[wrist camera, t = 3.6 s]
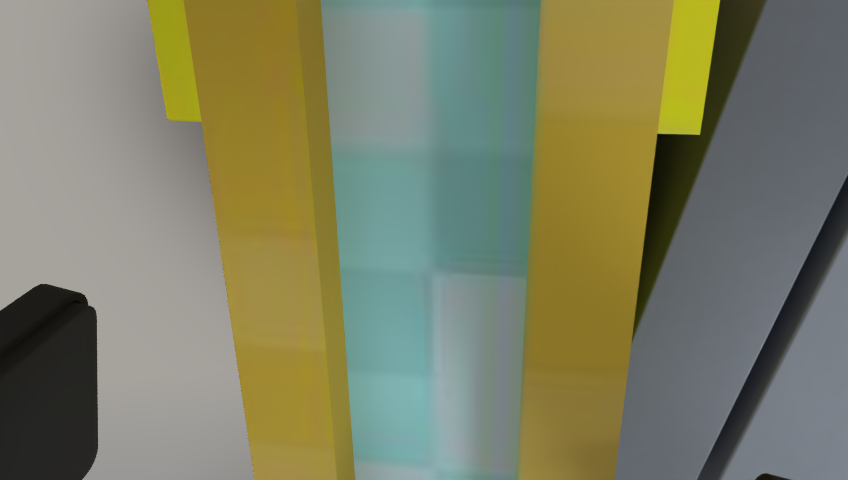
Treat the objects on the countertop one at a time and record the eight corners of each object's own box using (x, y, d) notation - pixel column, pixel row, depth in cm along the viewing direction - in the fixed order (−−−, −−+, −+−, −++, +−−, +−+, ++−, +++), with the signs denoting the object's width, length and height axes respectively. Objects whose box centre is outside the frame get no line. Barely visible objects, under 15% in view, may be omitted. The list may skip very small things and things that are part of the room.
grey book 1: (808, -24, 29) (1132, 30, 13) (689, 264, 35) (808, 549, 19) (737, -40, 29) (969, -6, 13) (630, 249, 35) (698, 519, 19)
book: (438, -106, 30) (109, -224, 8) (596, -111, 29) (759, -263, 7) (440, 246, 37) (271, 735, 14) (569, 253, 36) (601, 792, 13)
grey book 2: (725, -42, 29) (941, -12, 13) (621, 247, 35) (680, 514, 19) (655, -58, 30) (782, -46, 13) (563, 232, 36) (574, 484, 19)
